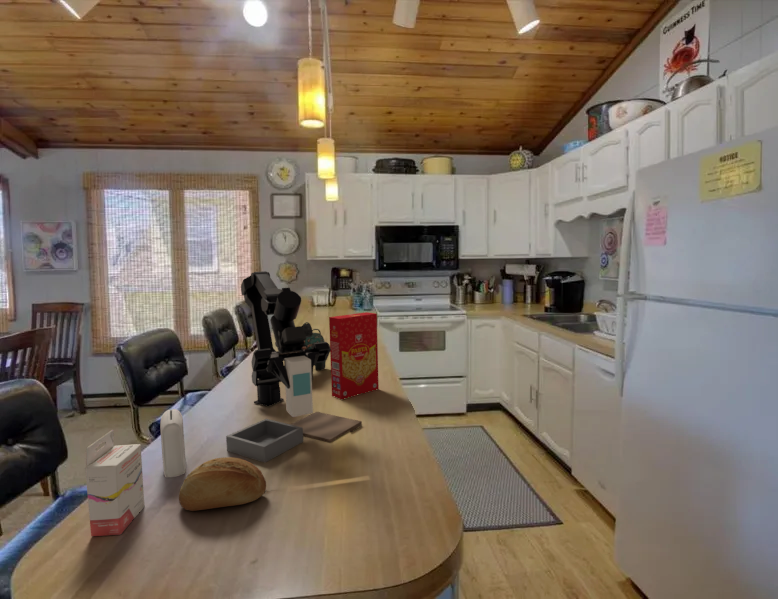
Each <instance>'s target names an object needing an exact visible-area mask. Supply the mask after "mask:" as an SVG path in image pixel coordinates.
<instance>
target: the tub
mask: <svg viewBox="0 0 778 599" xmlns="http://www.w3.org/2000/svg"><path fill="white" fill-rule="evenodd" d="M290 424H291V423H285V422H282V421H278V420H273V419H269V418H265V419H261V420H260V421H257V422H256V423H252V424H251V425H249V426H246V427H243V428H242V429H239V430H237V431H235V432H232V433H230V434H227V435H226V436H225V439H226V440H225V441H226V451H227V452H229V453H232V454H235V455H238V456H239V455H240V456H242V457H246V458H249V459H252V460H255V461H258V462H262V463H268V462H269V461H270V460H272V459H275V458H276V457H278V456H280V455H282V454H284V453H286V452H288V451H289V450H291V449H293V448H295V447H297V446H299V445H300V444H302V443H303V442H304V436H303V427H298V426H294V425H290Z"/></svg>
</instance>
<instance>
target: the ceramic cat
mask: <svg viewBox="0 0 778 599" xmlns="http://www.w3.org/2000/svg"><path fill="white" fill-rule="evenodd" d="M309 323H310V322H308V321H305V322H304V323H303V324H309ZM314 331H318V332H314ZM312 332H313V335H312V336H311V337H309V338H306V340H304V343H305V344H304V347H302V350H307V349H311V348H312V345H313V343H319V342H326V341H325V338H324V336H323V335H322V333H321V330H320V329H318V328H312ZM326 362H327V360H326V361H325V362H320V363H316V365H315V366H314V368H315V369H318V370H317V371H323V370H322V369H324V370H325V369H326ZM315 369H314V370H315Z"/></svg>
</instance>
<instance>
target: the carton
mask: <svg viewBox="0 0 778 599" xmlns="http://www.w3.org/2000/svg"><path fill="white" fill-rule="evenodd" d="M283 364H284V367H285V370H286V373H287V376H288V379H289V383H290V388H289V389H288V388H287V387H286V386H285V385H284V387H285V389H284V390H285V407H286V408H285V409H286V412H287V413H288V414H289V415H290V417H292V418H295V417H300V416H306V415H311V414H313V413H314V408H313V406H314V405H313V379H312V374H311V360H310V359H309V358H307V357H306V356H297V357H290V358H284V361H283Z"/></svg>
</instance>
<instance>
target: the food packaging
mask: <svg viewBox="0 0 778 599" xmlns="http://www.w3.org/2000/svg"><path fill="white" fill-rule="evenodd" d="M377 314H378V313H373V312H367V311H366V312H358V313H350V314H344V315H343V314H342V315H336V316H328V324H329V345H330V348H331V351H330V353H329V355H330V378H331V380H330V381H331V396H332V397H333V396H335V397H334V398H336V397H337V399H338V398H340V399H339V400H341V399H343V400H345V399H344V398H346V399H349V398H348V397H350V398H352V397H351V396H353V397H355V396H354V395H357V394H361V393H364V394H366V393H365V392H368V391H371V392H373V391H372V390H375V391H377V390H376V389H378V390H379V389H380V387H379V385H380V384H379V351H378V350H379V348H378V346H379V345H378V315H377ZM368 393H369V392H368ZM361 395H362V394H361ZM357 396H358V395H357Z"/></svg>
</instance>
